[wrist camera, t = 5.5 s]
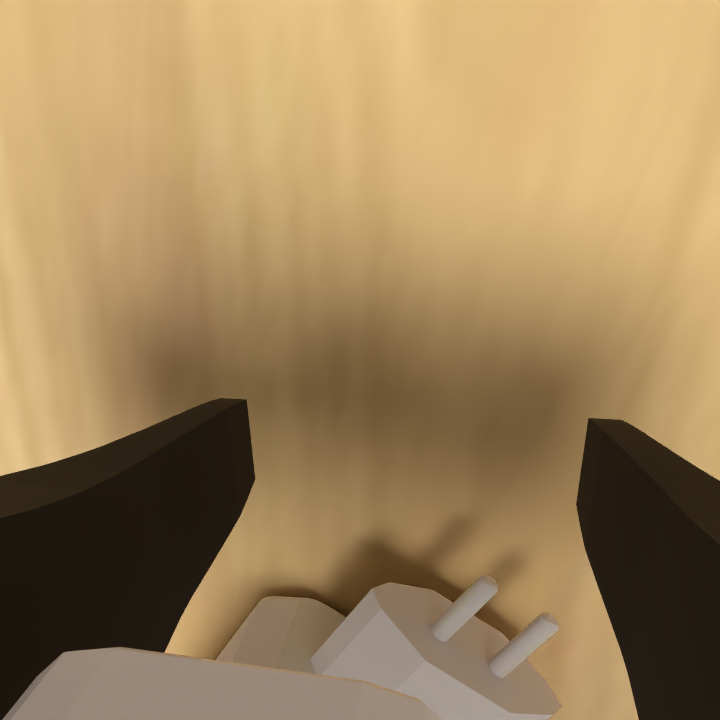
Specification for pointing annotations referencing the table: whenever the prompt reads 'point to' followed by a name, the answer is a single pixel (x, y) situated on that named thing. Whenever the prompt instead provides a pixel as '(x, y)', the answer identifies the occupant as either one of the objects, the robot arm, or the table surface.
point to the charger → (407, 649)
